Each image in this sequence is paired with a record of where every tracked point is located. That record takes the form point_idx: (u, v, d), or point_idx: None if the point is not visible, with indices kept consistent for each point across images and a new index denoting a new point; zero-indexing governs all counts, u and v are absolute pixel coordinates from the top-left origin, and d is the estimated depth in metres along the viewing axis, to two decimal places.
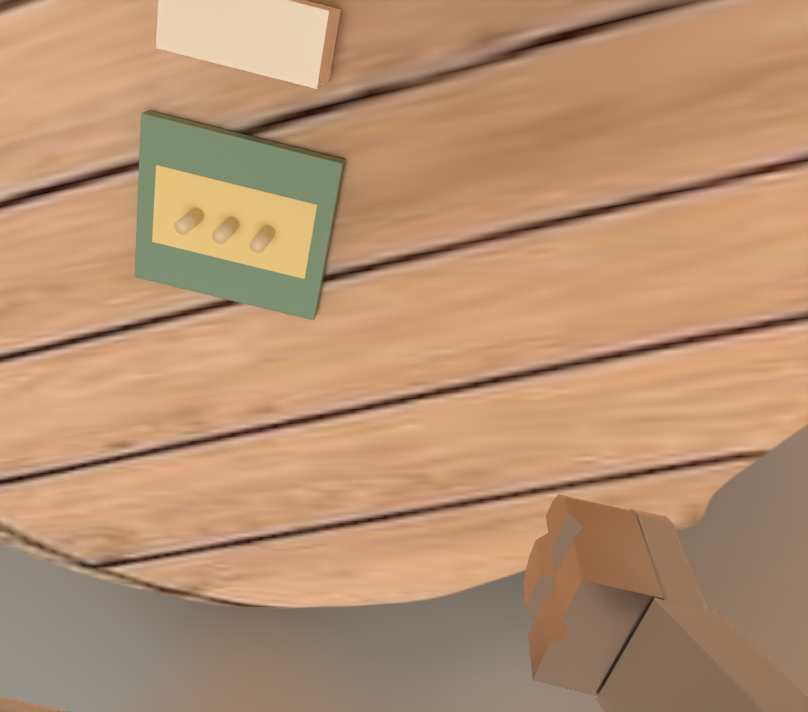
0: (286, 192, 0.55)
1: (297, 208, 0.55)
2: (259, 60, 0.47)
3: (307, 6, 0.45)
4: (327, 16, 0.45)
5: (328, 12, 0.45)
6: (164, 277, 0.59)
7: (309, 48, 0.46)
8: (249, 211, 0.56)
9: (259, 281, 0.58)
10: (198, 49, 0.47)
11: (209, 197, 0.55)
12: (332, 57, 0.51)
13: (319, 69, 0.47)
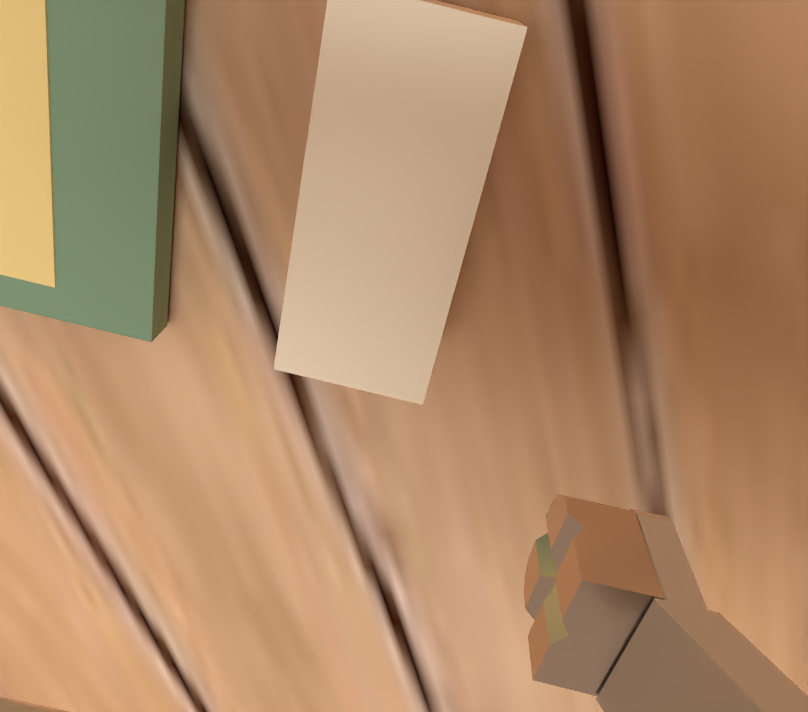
0: (64, 223, 0.24)
1: (35, 245, 0.25)
2: (320, 256, 0.20)
3: (430, 366, 0.21)
4: (412, 400, 0.22)
5: (419, 401, 0.22)
6: None
7: (351, 363, 0.22)
8: None
9: None
10: (334, 106, 0.18)
11: None
12: None
13: (312, 376, 0.22)
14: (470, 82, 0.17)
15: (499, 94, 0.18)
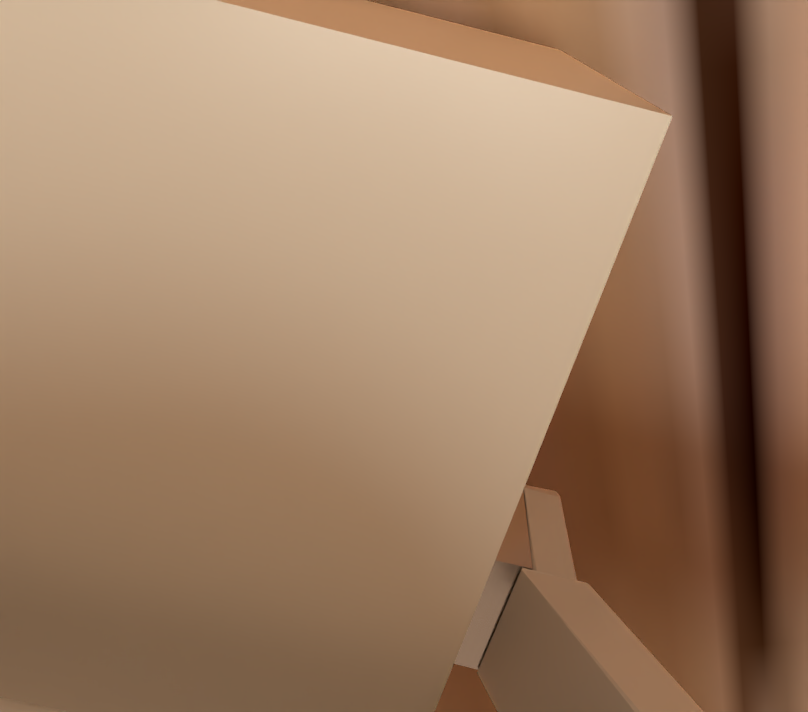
0: None
1: None
2: None
3: None
4: None
5: None
6: None
7: None
8: None
9: None
10: None
11: None
12: None
13: None
14: (419, 320, 0.04)
15: (535, 365, 0.04)
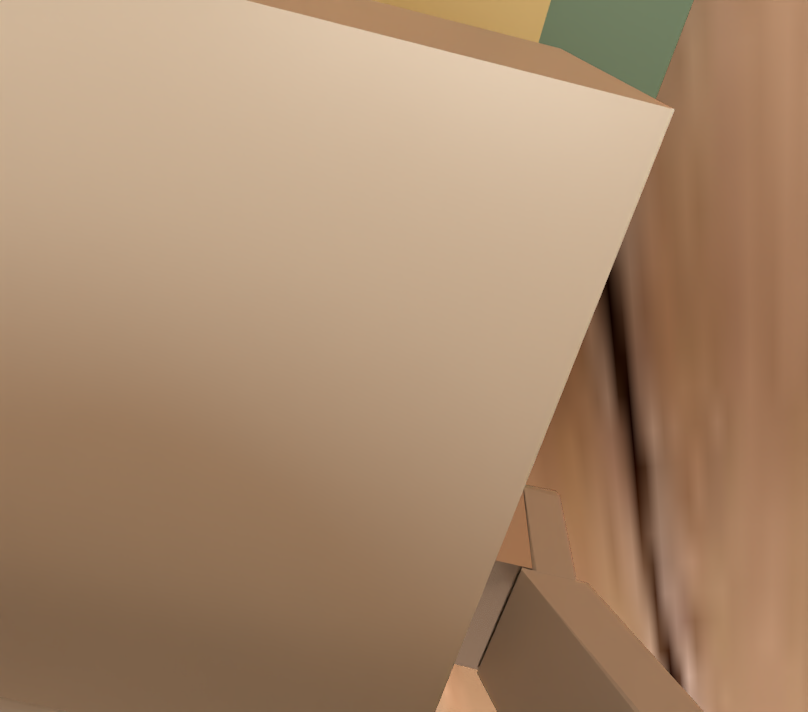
0: None
1: None
2: None
3: None
4: None
5: None
6: None
7: None
8: None
9: None
10: None
11: None
12: None
13: None
14: (419, 315, 0.04)
15: (536, 361, 0.04)
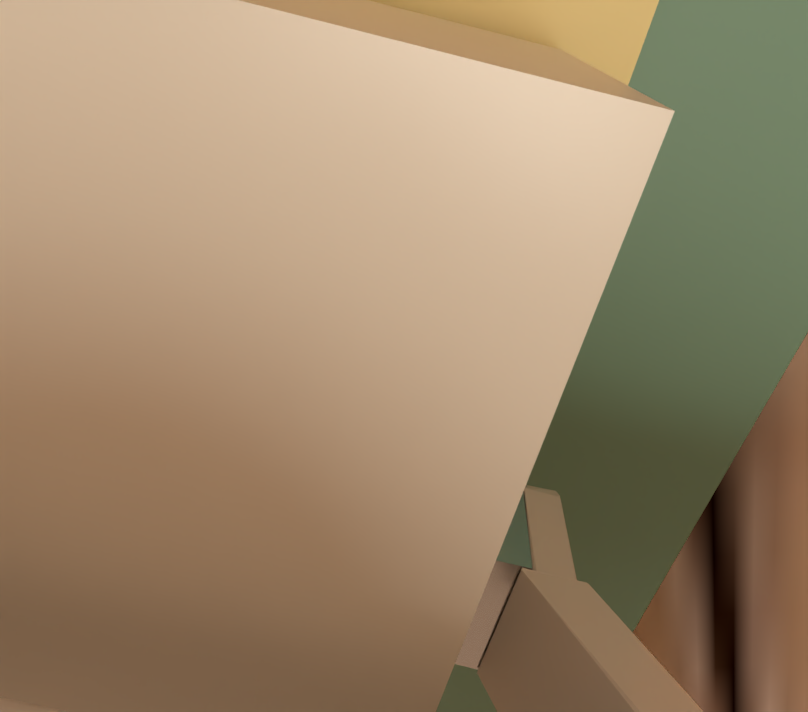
0: None
1: None
2: None
3: None
4: None
5: None
6: None
7: None
8: None
9: None
10: None
11: None
12: None
13: None
14: (419, 318, 0.04)
15: (536, 363, 0.04)
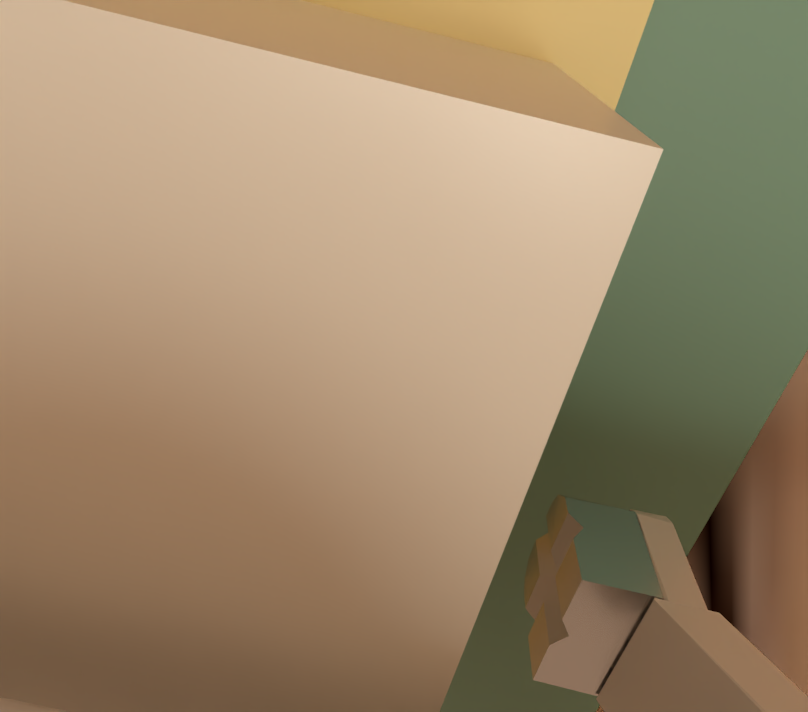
0: None
1: None
2: None
3: None
4: None
5: None
6: None
7: None
8: None
9: None
10: None
11: None
12: None
13: None
14: (399, 359, 0.04)
15: (521, 404, 0.04)
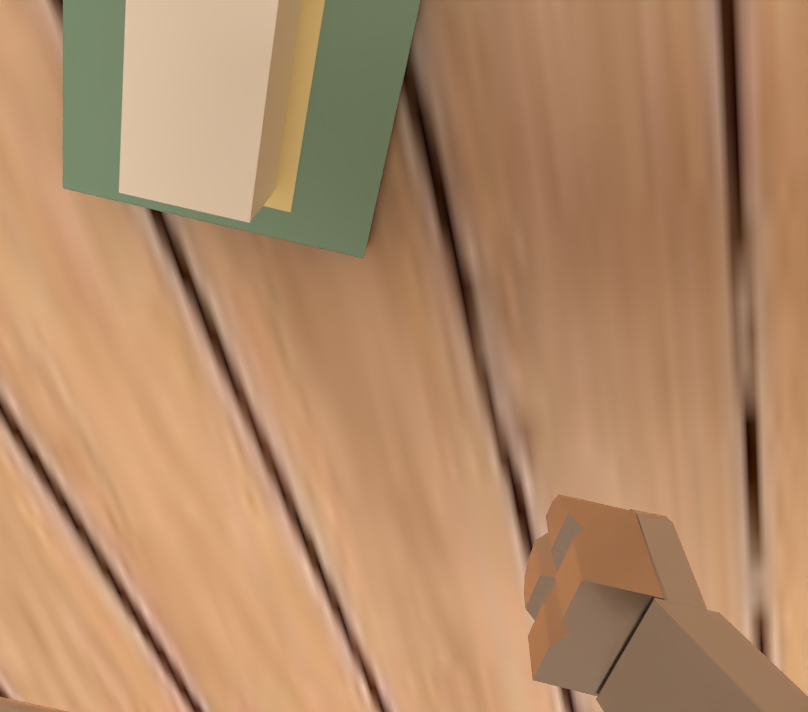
0: (309, 157, 0.30)
1: (280, 176, 0.30)
2: (148, 82, 0.24)
3: (252, 185, 0.25)
4: (240, 219, 0.26)
5: (247, 220, 0.26)
6: None
7: (185, 184, 0.26)
8: None
9: (121, 82, 0.29)
10: None
11: None
12: None
13: (153, 199, 0.26)
14: None
15: None
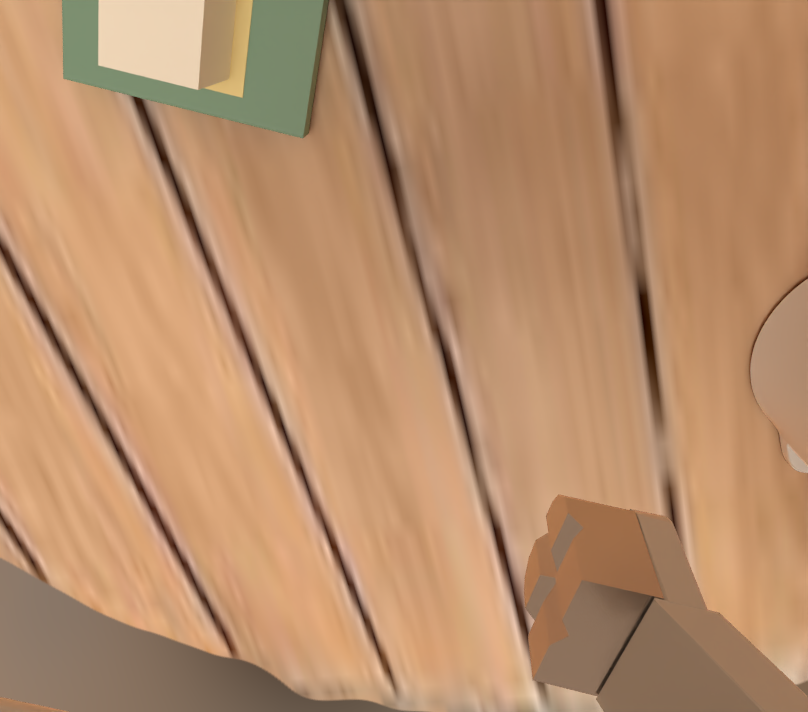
0: (255, 50, 0.37)
1: (233, 66, 0.38)
2: None
3: (198, 58, 0.33)
4: (191, 87, 0.34)
5: (196, 88, 0.34)
6: None
7: (147, 57, 0.33)
8: None
9: None
10: None
11: None
12: None
13: (124, 70, 0.33)
14: None
15: None
